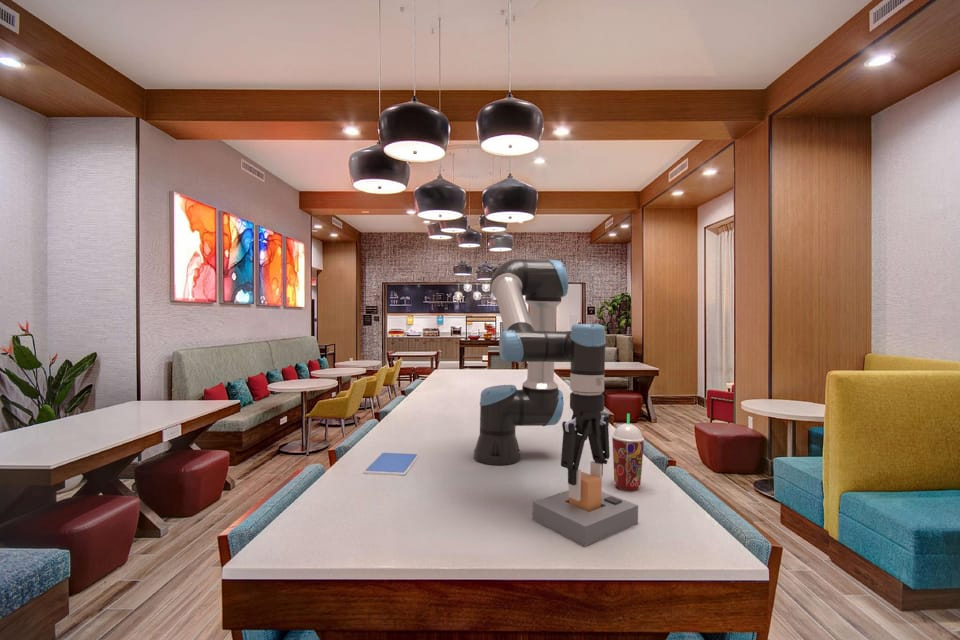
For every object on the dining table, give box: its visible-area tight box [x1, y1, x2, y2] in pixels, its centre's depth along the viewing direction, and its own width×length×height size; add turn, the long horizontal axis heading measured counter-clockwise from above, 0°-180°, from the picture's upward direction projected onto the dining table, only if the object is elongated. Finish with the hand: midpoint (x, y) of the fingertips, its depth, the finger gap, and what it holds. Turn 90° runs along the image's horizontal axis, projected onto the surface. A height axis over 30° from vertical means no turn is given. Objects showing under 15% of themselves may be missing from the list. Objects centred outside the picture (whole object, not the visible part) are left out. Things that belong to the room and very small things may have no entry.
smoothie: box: [611, 413, 645, 492], centre depth 122 cm, size 8×8×20 cm
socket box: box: [532, 489, 639, 548], centre depth 101 cm, size 15×18×4 cm
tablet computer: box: [363, 452, 420, 477], centre depth 138 cm, size 19×13×1 cm, turn 176°
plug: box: [569, 471, 601, 512], centre depth 101 cm, size 5×4×10 cm
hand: (585, 494), depth 101 cm, fingers open, 7 cm apart
